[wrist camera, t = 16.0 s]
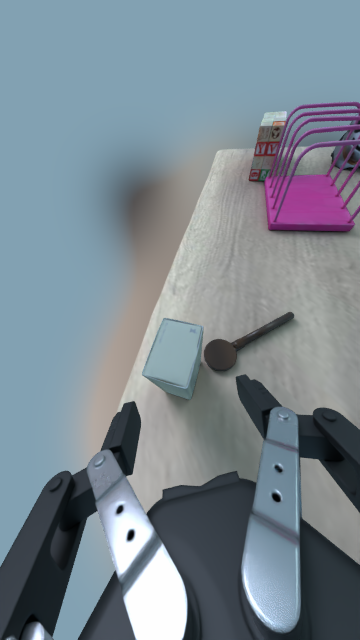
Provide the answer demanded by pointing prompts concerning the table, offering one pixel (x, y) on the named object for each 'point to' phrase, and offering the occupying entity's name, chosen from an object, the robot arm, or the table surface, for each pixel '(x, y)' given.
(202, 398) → the table surface
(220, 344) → the spoon
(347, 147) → the lucky cat figurine
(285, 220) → the file sorter
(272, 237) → the table surface
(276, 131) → the stack of blocks
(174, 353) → the cosmetic box
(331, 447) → the robot arm
